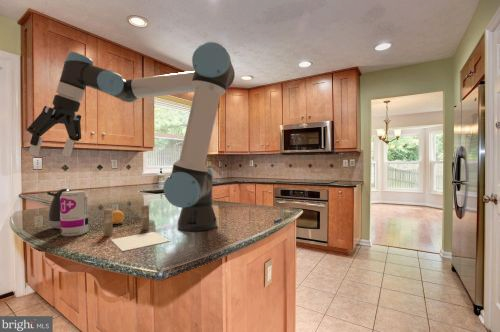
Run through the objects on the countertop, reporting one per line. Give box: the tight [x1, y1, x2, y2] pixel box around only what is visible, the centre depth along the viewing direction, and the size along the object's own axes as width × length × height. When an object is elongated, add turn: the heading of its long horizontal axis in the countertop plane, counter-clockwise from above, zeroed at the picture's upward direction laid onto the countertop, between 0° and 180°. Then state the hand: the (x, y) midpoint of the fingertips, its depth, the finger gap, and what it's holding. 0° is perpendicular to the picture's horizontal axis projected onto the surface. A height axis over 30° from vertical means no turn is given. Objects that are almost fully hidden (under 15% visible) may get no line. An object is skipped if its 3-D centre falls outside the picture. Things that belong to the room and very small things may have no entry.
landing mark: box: [110, 231, 170, 252], centre depth 82 cm, size 14×14×1 cm
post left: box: [103, 208, 114, 237], centre depth 88 cm, size 3×3×9 cm
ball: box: [112, 209, 125, 225], centre depth 104 cm, size 6×6×6 cm
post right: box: [141, 204, 150, 231], centre depth 96 cm, size 3×3×9 cm
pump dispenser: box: [46, 188, 72, 230], centre depth 98 cm, size 10×10×15 cm
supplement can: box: [59, 190, 89, 237], centre depth 90 cm, size 8×8×15 cm
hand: (50, 155), depth 89 cm, fingers open, 13 cm apart
